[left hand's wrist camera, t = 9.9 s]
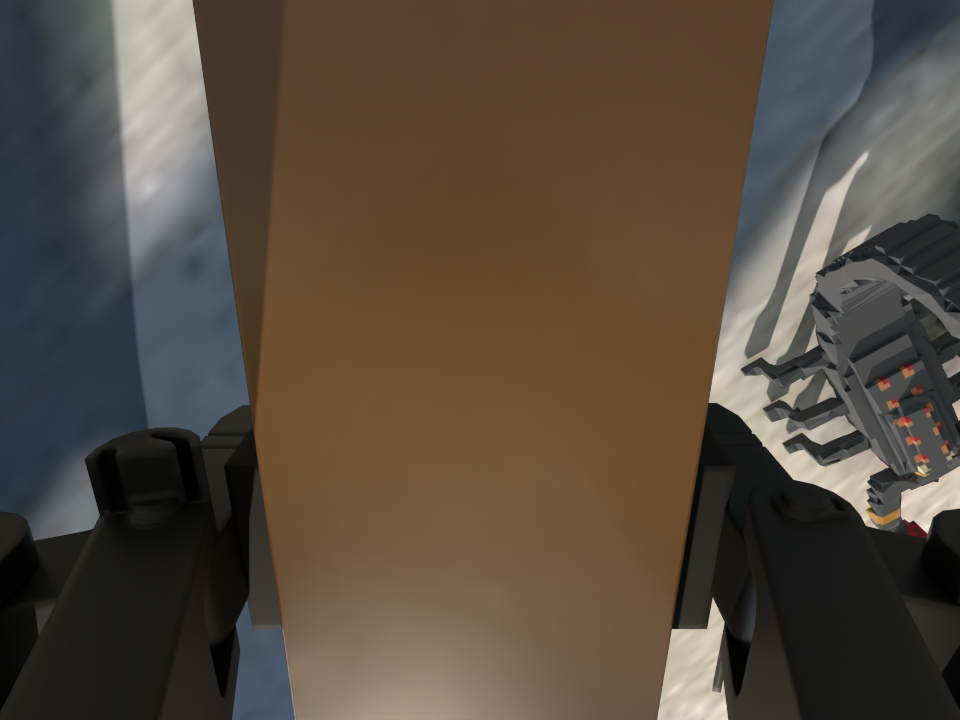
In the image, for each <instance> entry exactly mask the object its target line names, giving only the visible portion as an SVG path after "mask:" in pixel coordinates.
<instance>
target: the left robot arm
mask: <svg viewBox="0 0 960 720" xmlns="http://www.w3.org/2000/svg"><path fill="white" fill-rule="evenodd" d="M85 463H86V466H87V470H88V474H89V477H90V481H91V484H92V488H93V492H94V495H95V499H96V503H97V506H98V510H99V514H100V517H99V519H98V521H97V523H96V525H95V527H94V529H92V530H88V531H84V532H79V533H73V534H68V535H63V536H57V537H52V538H47V539H41V540H36V541H34V540H33V537H32V533H31V530H30V527H29V524H28V521H27V520H26V519H24V518H23V517H22V516H20V515H19V514H16V513H8V512H0V720H232V714H233V706H234V697H235V689H236V681H237V673H238V664H239V656H240V647H239V640H238V635H237V630H236V622H237V620H238V618H239V615H240V613H241V611H242V609H243V607H244V605H245V603H246V601H247V600H248V606H249V611H250V617H251V623H252V628H253V629H282V627H281V620H280V613H279V606H278V599H277V592H276V585H275V578H274V571H273V564H272V557H271V550H270V543H269V536H268V529H267V522H266V514H265V507H264V500H263V493H262V486H261V479H260V472H259V465H258V458H257V451H256V444H255V437H254V430H253V423H252V416H251V409H250V405H243V406H241V407H239V408H237V409H236V410H234V411H232V412H231V413H229V414H227V415H225V416H224V417H222V418H221V419H220V420H219V421H218V422H217V423H216V425H215V426H214V427H213V428H212V429H211V430H210V432H209V433H208V436H205V438H204V439H203V440H202V441H201V442H200V437H199V436H198V435H196V434H195V433H193V432H192V431H191V430H186V429H181V428H175V427H172V428H153V429H147V430H142V431H136V432H132V433H129V434H126V435H124V436H121V437H118V438H115V439H112V440H110V441H109V442H107V443H105V444H103V445H101V446H99V447H98V448H96V449H95V450H94V451H93V452H92V453H91V454H90V455H88V456H87V457H86V458H85ZM712 598H714V601H715V603H716V605H717V607H718V609H719V611H720V613H721V615H722V617H723V619H724V621H725V624H724V630H723V635H722V640H721V645H720V650H719V656H718V661H717V666H716V671H715V677H714V683H713V689H712V691H715V692H720V693H721V688H722V683H723V680H724V688H725V696H726V704H727V712H728V720H960V509H953V510H945V511H942V512H940V513H939V514H937V515H936V516H935V517H933V520H932V523H931V526H930V529H929V532H928V535H927V538H923V537H918V536H912V535H907V534H902V533H896V532H891V531H886V530H880V529H876V528H871V527H867V526H866V525H865V524H864V522H863V520H862V518H861V516H860V514H859V513H858V512H857V511H856V509H855V508H854V507H853V506H852V505H851V504H850V503H849V502H848V501H846V500H845V499H843V498H842V497H840V496H838V495H837V494H835V493H834V492H831V491H829V490H826V489H824V488H821V487H819V486H817V485H814V484H810V483H805V482H800V481H796V480H793V479H792V478H791V476H790V475H789V474H788V473H787V472H786V471H785V469H784V468H783V467H782V466H781V465H780V464H779V462H778V461H777V460H776V459H775V458H774V456H773V455H772V454H771V453H770V452H769V451H768V449H767V448H766V447H763V446H762V442H761V441H760V440H759V439H758V438H757V437H756V435H755V434H752V431H751V429H750V428H749V427H748V426H747V425H746V424H745V422H744V421H743V420H742V419H741V418H740V417H739V416H738V415H736V414H735V413H733V412H731V411H730V410H728V409H726V408H724V407H723V406H721V405H719V404H717V403H708V409H707V415H706V421H705V427H704V433H703V440H702V446H701V452H700V458H699V464H698V470H697V477H696V483H695V489H694V495H693V501H692V507H691V513H690V520H689V526H688V532H687V538H686V544H685V550H684V557H683V563H682V569H681V575H680V581H679V587H678V593H677V600H676V606H675V612H674V618H673V624H672V629H707V626H708V620H709V615H710V609H711V603H712Z"/></svg>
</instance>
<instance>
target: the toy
mask: <svg viewBox="0 0 960 720" xmlns="http://www.w3.org/2000/svg"><path fill="white" fill-rule="evenodd" d="M833 262H834V263H832V264H831V265H829V266H827V267H825V268H824V269H822V270H820V271H819V272H817V273H816V276H815V277H816V280H817V282H818V283H817V286H816V292H814V293H812V294H810V303H811V307H812V312H813V316H814V319H815V322H816V335H817V340H818V344H819V345H818V346H817V347H815V348H813V349H812V350H810V351H808V352H807V353H805V354H804V355H802V356H799V357H797V358H794V359H792V360H790V361H788V362H786V363H784V364H782V365H780V366H776V365H772V364H769V363H768V362H766V361H765V360H764V359H763V358H759V359H757V360H756V361H754V362H752V363H750V364H748V365H747V366H745V367H743V368H741V371H742V372H743V374H744V376H753V375H761V374H763V375H764V376H765V377H767V378H768V379H769V380H770V381H771V382H773V383H774V384H775V385H776V386H778V387H781V388H785V387H786V386H788V385H790V384H791V383H793V382H795V381H797V380H798V379H800V378H801V379H802V380H805V379H806V378H808V377H810V376H811V375H813V374H815V373H816V372H818V371H820V370H821V369H823V371H824V373H825V376H826V378H827V380H828V382H829V384H830V385H831V386H832V387H833V389H834V392H835V394H836V397H837V398H829V399H827V400H824V401H822V402H820V403H818V404H816V405H814V406H812V407H810V408H807V409H805V410H802V411H801V410H800V409H799V408H798V407H797V408H796V409H795V410H793V409H792V408H791V407H790V406H789V405H788V404H787V403H786V402H784V401H781V400H778V401H776V402H774V403H772V404H771V405H769V406H767V407H765V408H763V410H764V412H765V413H766V415H767V417H768V419H769V420H770V421H771V422H775V421H778V420H781V419H784V418H789V419H791V420H792V422H793V423H794V424H795V425H796V426H797V427H801V428H804V429H807V430H812V429H814V428H816V427H818V426H820V425H822V424H824V423H826V422H828V421H830V420H832V419H834V418H836V417H838V416H843V415H845V416H846V418H847V419H848V421H849V423H851V424H852V425H853V426H854V427H855V428H857V429H858V430H856V431H854V432H853V433H850V434H848V435H845V436H842V437H839V438H837V439H834V440H832V441H830V442H828V443H826V444H824V445H820V444H818V443H815V442H813V441H811V440H810V439H809V438H807V437H806V436H805V435H804V434H803V433H801V434H799V435H797V436H795V437H793V438H791V439H790V440H788V441H786V442H784V443H782V444H783V445H784V447H785V449H786V450H787V451H788V452H789V454H790V453H793V452H796V451H798V450H805V451H806V452H807V453H808V454H809V455H810V456H811V457H812V458H813V459H814V460H815V461H816V462H817V463H819V464H820V465H821V466H825V467H826V466H829V465H831V464H834V463H837V462H840V461H842V460H844V459H847V458H849V457H851V456H854V455H856V454H858V453H861V452H863V451H865V450H868V449H870V450H871V451H873V452H874V453H875V454H876V455H877V456H878V457H879V459H880V460H881V461H883V462H884V463H885V464H886V465H887V466H888V467H889V468H887V469H884V470H883V471H880V472H878V473H876V474H874V475H871V476H870V478H871V479H870V480H868V481H867V482H868V484H869V485H870V486H871V488H869V489H867V490H866V491H867V493H868V496H869V499H868V500H867V502H868V503H869V505H870V507H871V508H869V509H867V510H866V511H867V513H868V515H869V517H870V519H871V521H872V522H873V523H874V524H875V525H876V526H877V528H878V529H880V530H886V531H891V532H896V533H902V534H907V535H912V536H918V537H923V538H927V533H926V532H925V531H924V530H923V529H922V528H921V527H920V526H919V525H918V524H917V523H916V522H914V521H912V522H910V523H909V522H907V521H906V520H905V519H904V520H902V518H901V492H903V491H905V490H907V489H910V490H913V489H915V488H918V487H920V486H924V485H926V484H928V483H931V482H933V481H934V482H938V480H939V478H940V477H941V476H943V475H945V474H947V473H948V472H950V471H952V470H953V469H955V468H957V467H959V466H960V420H958V418H957V416H956V413H955V411H954V408H953V406H952V404H953V403H954V402H956V401H958V400H959V399H960V372H958V373H956V374H955V375H953V376H952V377H950V378H948V377H947V375H946V373H945V371H944V369H943V367H942V365H941V364H943V363H945V362H947V361H949V360H951V359H953V358H954V357H955V356H956V355H958V357H960V226H959V225H958V224H957V223H956V222H954V221H945V220H940V217H939V216H937V215H933V214H928V215H926V216H924V217H922V218H920V219H918V220H917V221H913V220H910V221H908V222H907V223H901V222H900V223H898V224H896V225H894V226H893V227H891V228H889V229H887V230H885V231H884V232H881V233H880V234H878V235H876V236H874V237H873V238H871V239H869V240H868V241H866V242H864V243H862V244H861V245H859V246H857V247H856V248H854V249H852V250H850V251H849V252H847V253H845V254H844V255H842V256H840V257H839V258H837V259H835V260H833ZM900 288H901V289H903V290H904V291H905V292H907V293H908V294H910V295H911V296H912V297H914V298H913V299H912V300H910V301H907V300H906V299H904V298H903V297H902V296H901V290H900ZM932 312H933V313H935V314H936V316H937V317H938V318H939V320H940V321H942V323H943V324H944V325H945V327H946V328H947V330H948V331H947V332H946V333H944V334H943V335H941V336H940V337H938V338H937V339H935V340H933V341H932V342H931V341H930V339H929V337H928V335H927V333H926V331H925V328H924V326H923V324H922V323H921V322H920V321H919V320H920V319H922V318H923V317H925V316H927V315H928V314H930V313H932Z"/></svg>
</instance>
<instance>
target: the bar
mask: <svg viewBox="0 0 960 720" xmlns="http://www.w3.org/2000/svg"><path fill="white" fill-rule="evenodd" d="M773 3H774V0H193V7H194V14H195V21H196V28H197V35H198V42H199V49H200V56H201V63H202V70H203V77H204V84H205V91H206V98H207V105H208V112H209V120H210V127H211V134H212V141H213V148H214V155H215V162H216V169H217V176H218V183H219V190H220V197H221V204H222V211H223V218H224V225H225V232H226V239H227V246H228V254H229V261H230V268H231V275H232V282H233V289H234V296H235V303H236V310H237V317H238V324H239V331H240V338H241V345H242V352H243V359H244V366H245V373H246V380H247V388H248V395H249V402H250V409H251V416H252V423H253V430H254V437H255V444H256V451H257V458H258V465H259V472H260V479H261V486H262V493H263V500H264V507H265V514H266V522H267V529H268V536H269V543H270V550H271V557H272V564H273V571H274V578H275V585H276V592H277V599H278V606H279V613H280V620H281V627H282V634H283V641H284V648H285V656H286V663H287V670H288V677H289V684H290V691H291V698H292V705H293V712H294V719H295V720H657V717H658V710H659V704H660V698H661V692H662V686H663V680H664V673H665V667H666V661H667V655H668V649H669V643H670V637H671V630H672V624H673V618H674V612H675V606H676V600H677V593H678V587H679V581H680V575H681V569H682V563H683V557H684V550H685V544H686V538H687V532H688V526H689V520H690V513H691V507H692V501H693V495H694V489H695V483H696V477H697V470H698V464H699V458H700V452H701V446H702V440H703V433H704V427H705V421H706V415H707V409H708V403H709V397H710V390H711V384H712V378H713V372H714V366H715V360H716V353H717V347H718V341H719V335H720V329H721V323H722V317H723V310H724V304H725V298H726V292H727V286H728V280H729V273H730V267H731V261H732V255H733V249H734V243H735V237H736V230H737V224H738V218H739V212H740V206H741V200H742V194H743V187H744V181H745V175H746V169H747V163H748V157H749V150H750V144H751V138H752V132H753V126H754V120H755V114H756V107H757V101H758V95H759V89H760V83H761V77H762V70H763V64H764V58H765V52H766V46H767V40H768V34H769V27H770V21H771V15H772V9H773Z"/></svg>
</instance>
